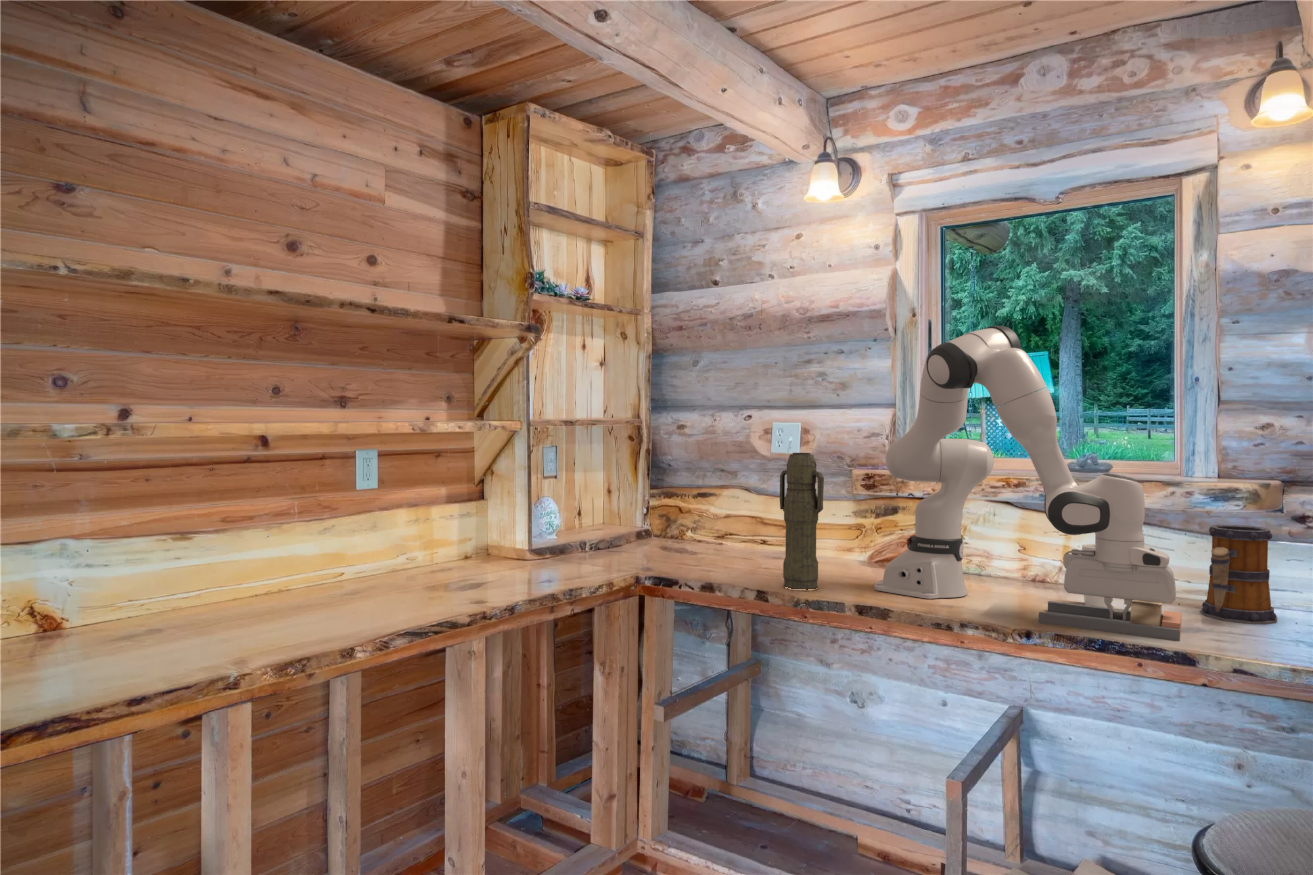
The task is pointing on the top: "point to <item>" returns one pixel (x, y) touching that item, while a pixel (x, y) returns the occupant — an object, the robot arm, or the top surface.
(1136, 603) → the block
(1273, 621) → the mug
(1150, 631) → the guide channel
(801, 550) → the thermos
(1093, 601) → the white tumbler
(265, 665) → the top surface
